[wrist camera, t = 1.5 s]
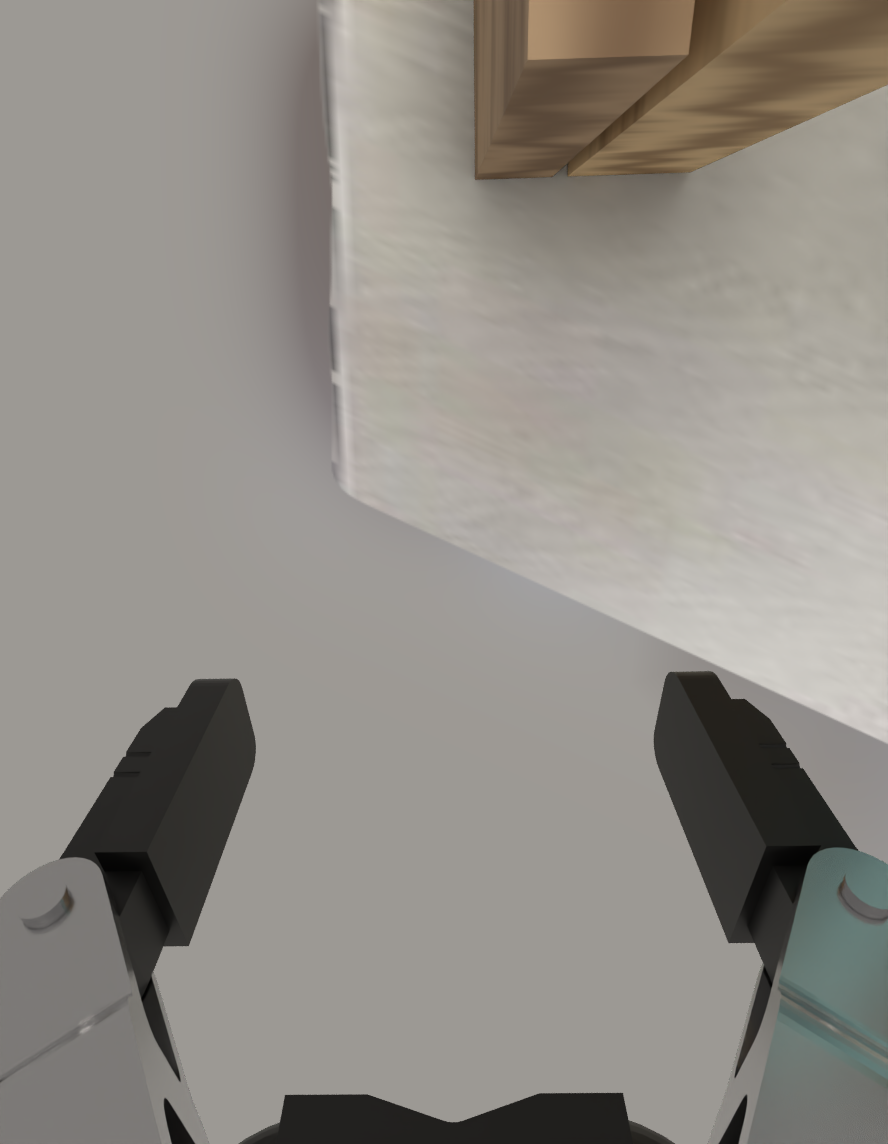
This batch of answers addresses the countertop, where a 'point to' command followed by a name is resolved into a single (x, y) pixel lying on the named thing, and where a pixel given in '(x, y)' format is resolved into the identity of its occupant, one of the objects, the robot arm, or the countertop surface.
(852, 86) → the stand
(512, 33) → the step
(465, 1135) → the robot arm
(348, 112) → the countertop surface
